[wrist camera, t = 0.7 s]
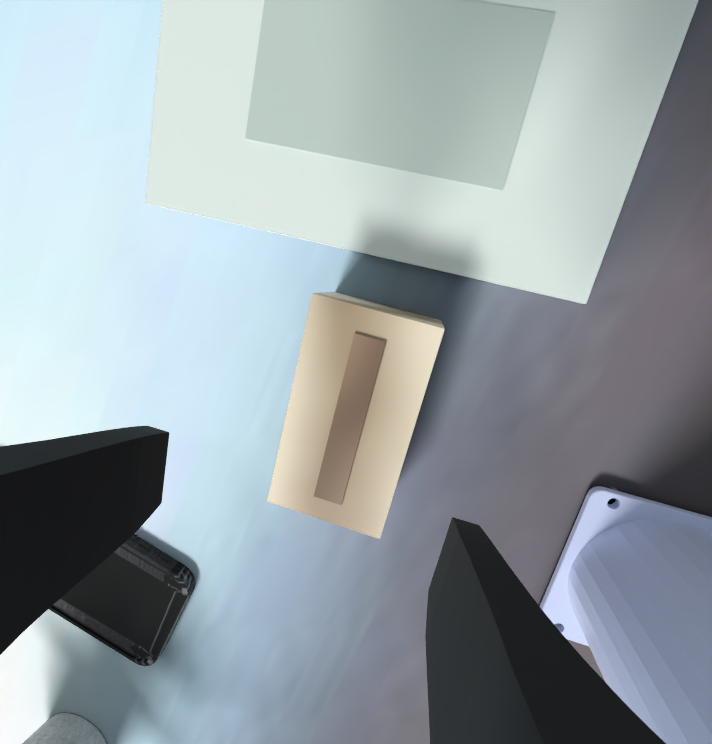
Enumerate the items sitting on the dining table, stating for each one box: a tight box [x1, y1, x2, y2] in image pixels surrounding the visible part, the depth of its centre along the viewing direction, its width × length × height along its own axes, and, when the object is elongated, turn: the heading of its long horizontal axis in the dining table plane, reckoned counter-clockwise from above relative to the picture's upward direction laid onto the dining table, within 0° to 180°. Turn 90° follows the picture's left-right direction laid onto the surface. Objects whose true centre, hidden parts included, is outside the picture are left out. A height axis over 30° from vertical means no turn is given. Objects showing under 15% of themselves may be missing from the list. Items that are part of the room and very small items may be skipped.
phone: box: [49, 534, 195, 666], centre depth 24 cm, size 8×1×15 cm
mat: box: [145, 0, 698, 304], centre depth 16 cm, size 20×13×1 cm, turn 77°
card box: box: [268, 292, 445, 539], centre depth 17 cm, size 5×9×4 cm, turn 166°
